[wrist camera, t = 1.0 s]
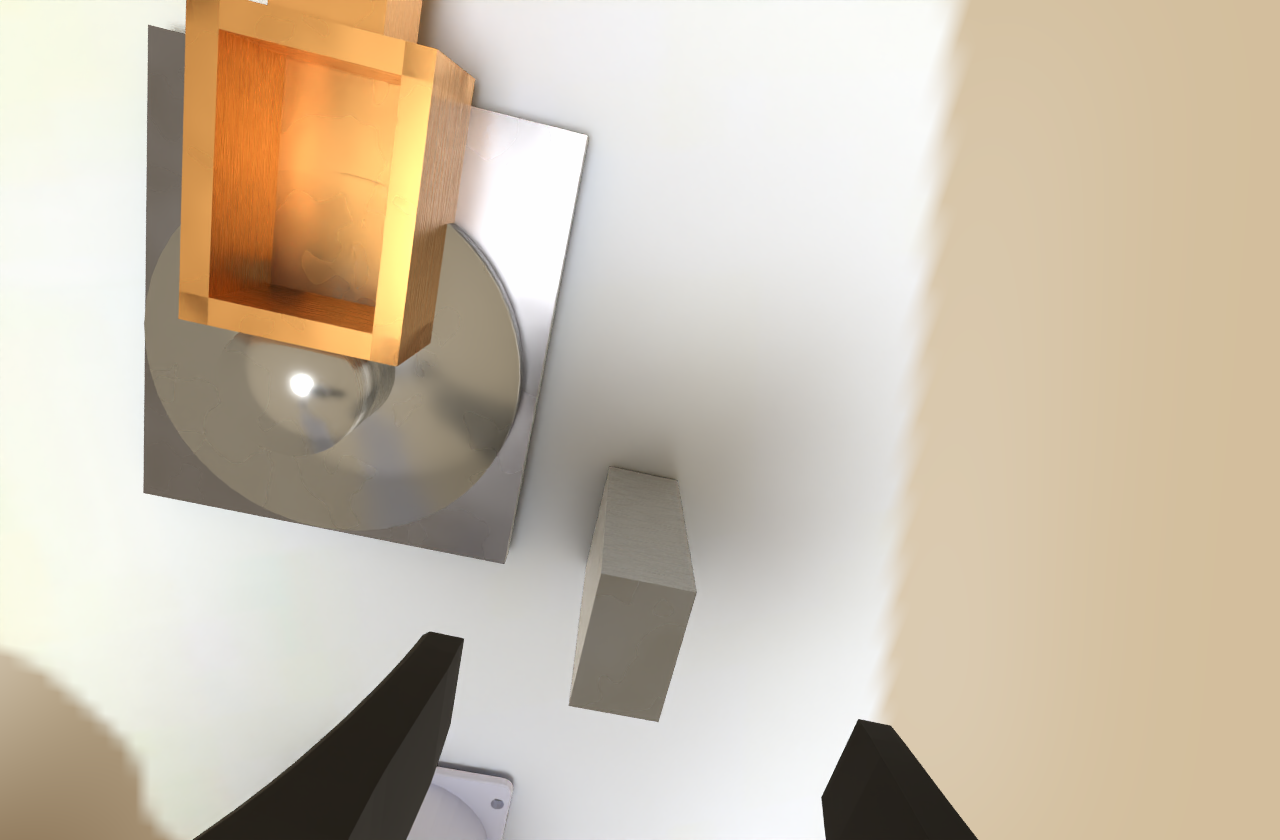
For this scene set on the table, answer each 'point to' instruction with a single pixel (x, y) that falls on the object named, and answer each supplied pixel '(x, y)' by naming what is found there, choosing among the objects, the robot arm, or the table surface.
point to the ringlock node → (345, 274)
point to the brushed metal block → (633, 598)
